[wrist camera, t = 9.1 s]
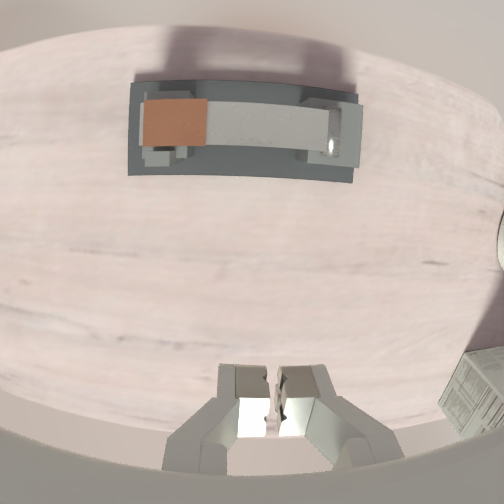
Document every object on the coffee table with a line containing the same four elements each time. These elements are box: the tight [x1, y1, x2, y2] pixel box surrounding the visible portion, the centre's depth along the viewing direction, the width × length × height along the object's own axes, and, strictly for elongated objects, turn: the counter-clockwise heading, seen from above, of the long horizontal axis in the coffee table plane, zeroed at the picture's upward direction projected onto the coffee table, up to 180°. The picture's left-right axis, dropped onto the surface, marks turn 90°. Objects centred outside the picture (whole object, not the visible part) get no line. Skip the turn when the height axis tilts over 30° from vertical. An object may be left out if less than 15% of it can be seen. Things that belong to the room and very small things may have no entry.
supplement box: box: [438, 346, 504, 440], centre depth 40 cm, size 13×13×18 cm
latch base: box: [128, 80, 363, 183], centre depth 27 cm, size 24×10×9 cm, turn 87°
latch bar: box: [139, 99, 342, 158], centre depth 24 cm, size 17×4×2 cm, turn 87°
